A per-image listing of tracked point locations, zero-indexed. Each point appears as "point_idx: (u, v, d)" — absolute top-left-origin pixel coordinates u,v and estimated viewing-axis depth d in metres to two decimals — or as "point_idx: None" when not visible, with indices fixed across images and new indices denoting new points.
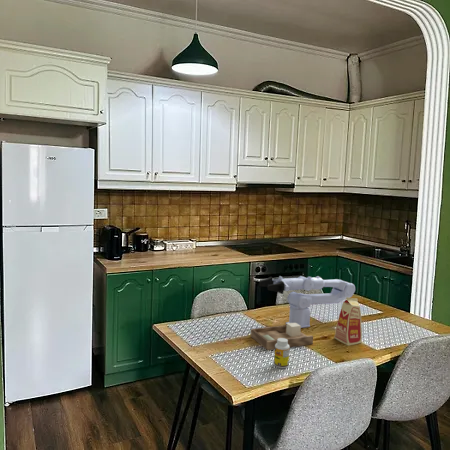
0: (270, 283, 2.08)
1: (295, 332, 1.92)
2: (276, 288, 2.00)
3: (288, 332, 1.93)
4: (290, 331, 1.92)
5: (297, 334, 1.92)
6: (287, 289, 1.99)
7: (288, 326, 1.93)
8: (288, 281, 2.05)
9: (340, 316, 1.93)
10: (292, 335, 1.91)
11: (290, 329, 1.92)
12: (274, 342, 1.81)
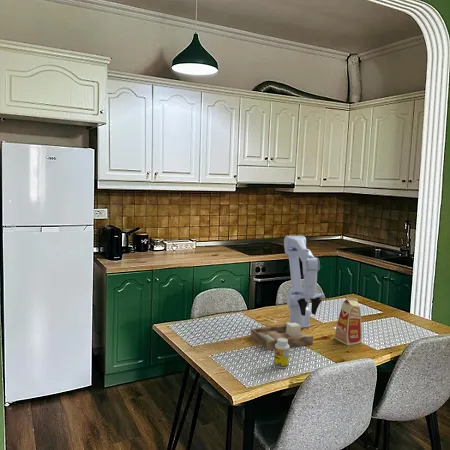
0: None
1: (295, 332, 1.92)
2: None
3: (288, 332, 1.93)
4: (290, 331, 1.92)
5: (297, 334, 1.92)
6: None
7: (288, 326, 1.93)
8: None
9: (340, 316, 1.93)
10: (292, 335, 1.91)
11: (290, 329, 1.92)
12: (274, 342, 1.81)
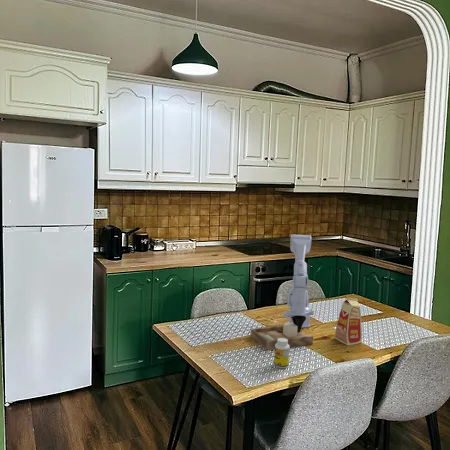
0: None
1: (292, 333, 1.91)
2: None
3: (285, 332, 1.93)
4: (287, 331, 1.91)
5: (294, 334, 1.91)
6: None
7: (285, 326, 1.93)
8: (305, 306, 1.92)
9: (340, 316, 1.93)
10: (289, 335, 1.91)
11: (287, 329, 1.91)
12: (274, 342, 1.81)
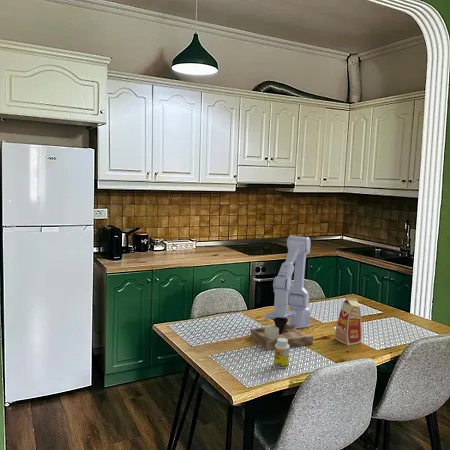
0: None
1: (273, 335, 1.88)
2: None
3: (266, 335, 1.89)
4: (268, 334, 1.88)
5: (275, 337, 1.88)
6: None
7: (266, 328, 1.89)
8: None
9: (340, 316, 1.93)
10: (270, 338, 1.87)
11: (268, 331, 1.88)
12: (274, 342, 1.81)
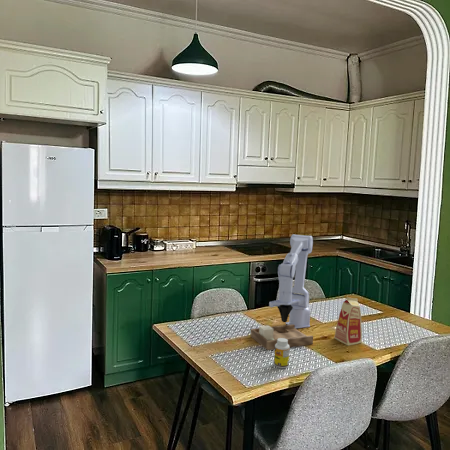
0: None
1: (268, 336, 1.87)
2: None
3: None
4: (262, 334, 1.87)
5: (270, 337, 1.87)
6: None
7: (261, 329, 1.88)
8: (291, 295, 1.89)
9: (340, 316, 1.93)
10: None
11: (262, 332, 1.87)
12: (274, 342, 1.81)
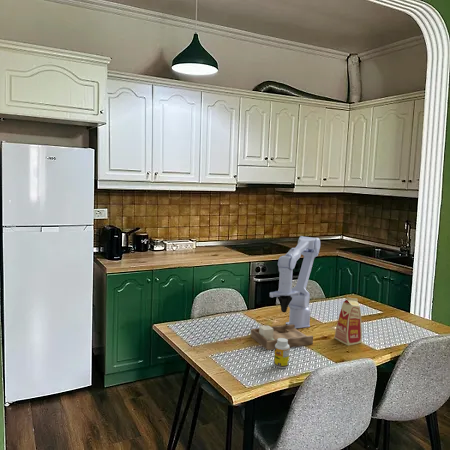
0: None
1: (268, 336, 1.87)
2: None
3: None
4: (262, 334, 1.87)
5: (270, 337, 1.87)
6: None
7: (261, 329, 1.88)
8: (291, 286, 1.97)
9: (340, 316, 1.93)
10: None
11: (262, 332, 1.87)
12: (274, 342, 1.81)
